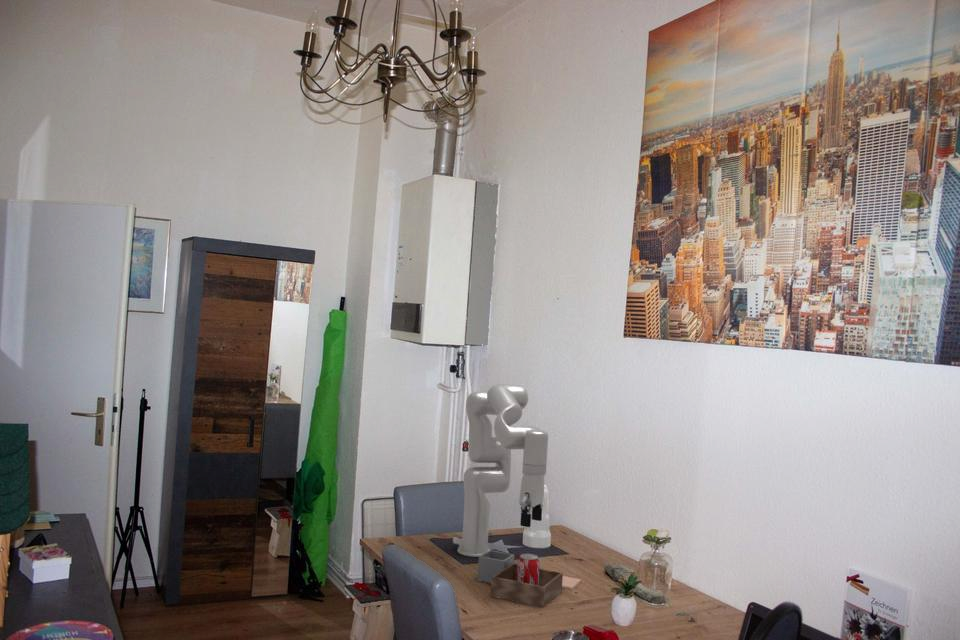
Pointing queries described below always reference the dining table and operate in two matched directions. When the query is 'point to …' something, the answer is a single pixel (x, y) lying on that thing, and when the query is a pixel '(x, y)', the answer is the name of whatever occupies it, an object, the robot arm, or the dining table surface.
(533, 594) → the walnut crate
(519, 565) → the soda can
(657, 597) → the long grey stone
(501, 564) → the charcoal crate
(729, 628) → the dining table surface
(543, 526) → the decorative vase
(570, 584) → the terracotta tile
